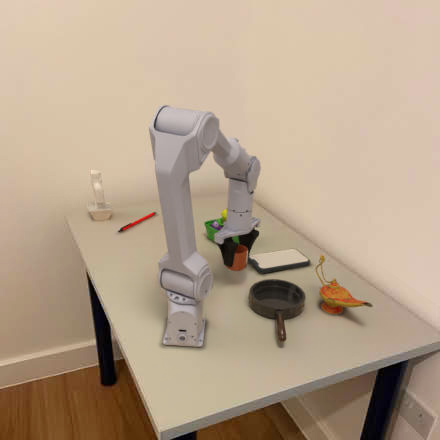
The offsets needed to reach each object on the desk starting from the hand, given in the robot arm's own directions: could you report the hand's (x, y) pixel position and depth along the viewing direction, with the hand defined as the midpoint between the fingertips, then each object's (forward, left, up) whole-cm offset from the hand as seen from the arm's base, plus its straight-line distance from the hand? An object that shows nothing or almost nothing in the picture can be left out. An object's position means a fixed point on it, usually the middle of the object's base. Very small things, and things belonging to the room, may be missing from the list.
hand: (236, 261), depth 107 cm
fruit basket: (+25, +3, -7) cm, 26 cm away
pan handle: (-19, -10, -5) cm, 22 cm away
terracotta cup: (0, 0, -1) cm, 1 cm away
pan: (-8, -10, -7) cm, 14 cm away
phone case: (+13, -12, -7) cm, 19 cm away
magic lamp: (-9, -24, -7) cm, 27 cm away
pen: (+35, +31, -7) cm, 48 cm away
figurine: (+38, +44, -7) cm, 59 cm away
